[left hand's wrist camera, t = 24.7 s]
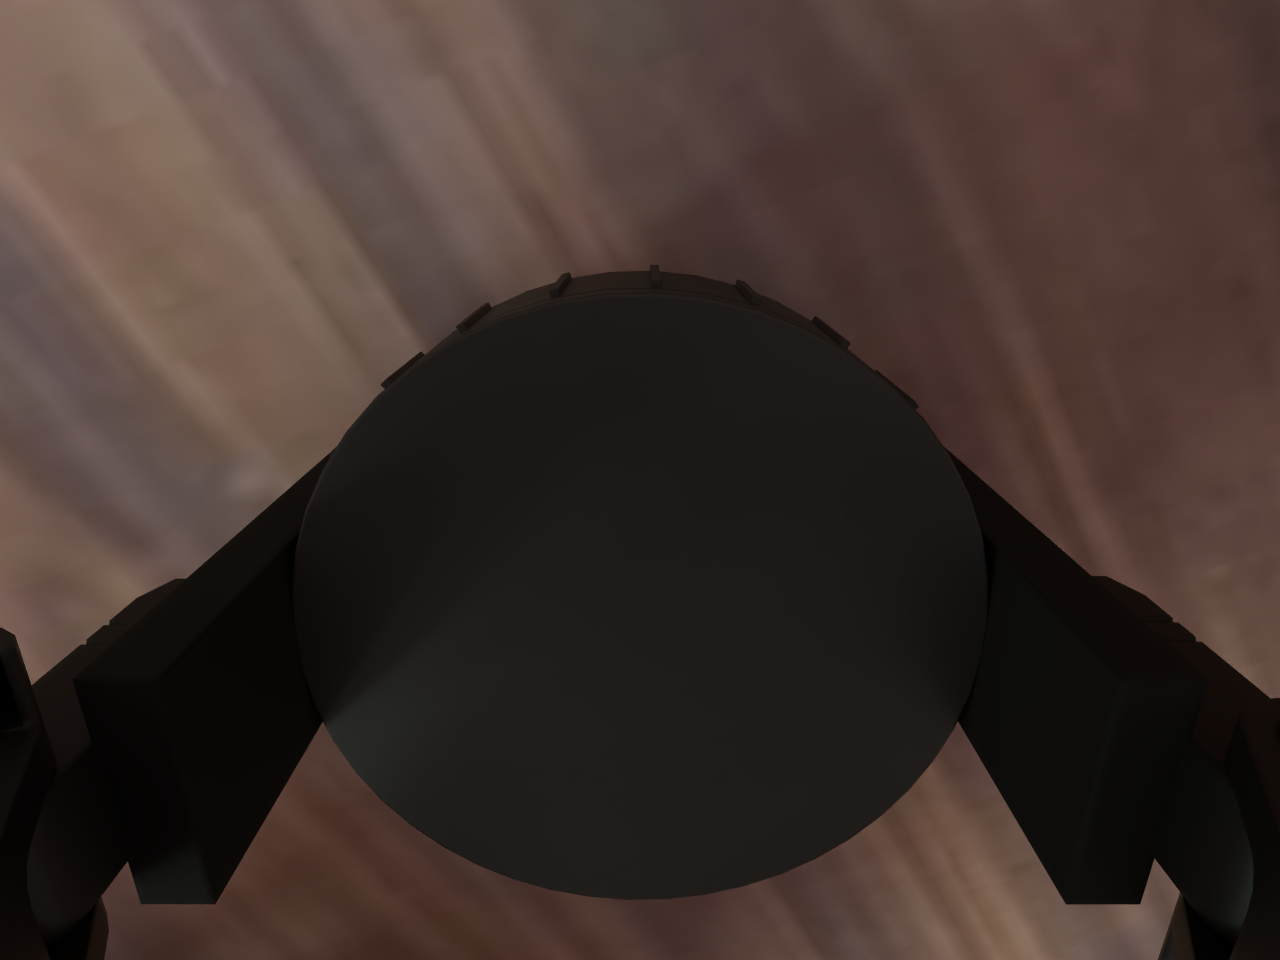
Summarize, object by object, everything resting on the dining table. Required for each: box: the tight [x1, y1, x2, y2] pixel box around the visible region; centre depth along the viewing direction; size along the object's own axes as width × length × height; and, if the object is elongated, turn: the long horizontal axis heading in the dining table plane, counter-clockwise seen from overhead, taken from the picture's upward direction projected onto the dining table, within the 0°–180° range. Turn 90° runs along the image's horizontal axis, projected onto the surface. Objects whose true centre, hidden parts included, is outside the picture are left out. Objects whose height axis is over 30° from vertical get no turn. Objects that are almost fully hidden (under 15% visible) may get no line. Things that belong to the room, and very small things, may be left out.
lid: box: [292, 265, 988, 900], centre depth 11 cm, size 9×9×2 cm
